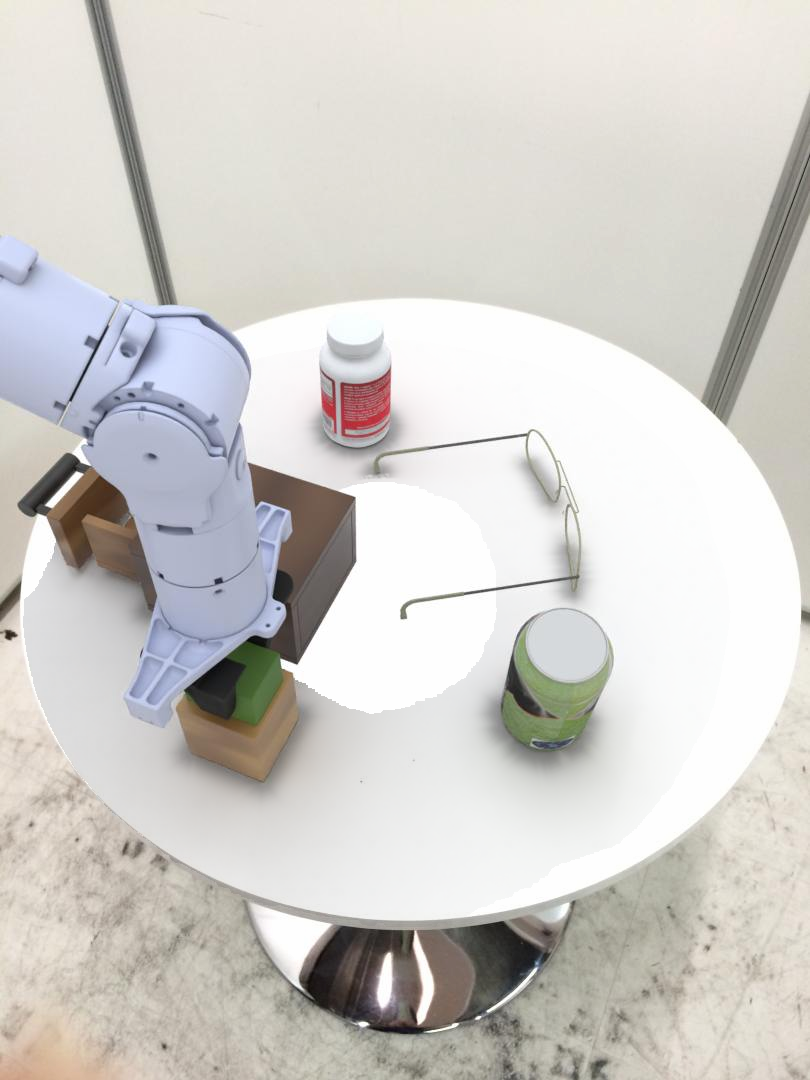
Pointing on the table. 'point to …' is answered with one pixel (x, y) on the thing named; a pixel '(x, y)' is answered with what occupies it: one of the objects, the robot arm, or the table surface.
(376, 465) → the eyeglasses
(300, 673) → the table surface
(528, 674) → the beverage can
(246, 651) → the matte green cuboid
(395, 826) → the table surface
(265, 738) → the wooden block
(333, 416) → the pill bottle
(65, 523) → the drawer
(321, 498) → the cabinet
